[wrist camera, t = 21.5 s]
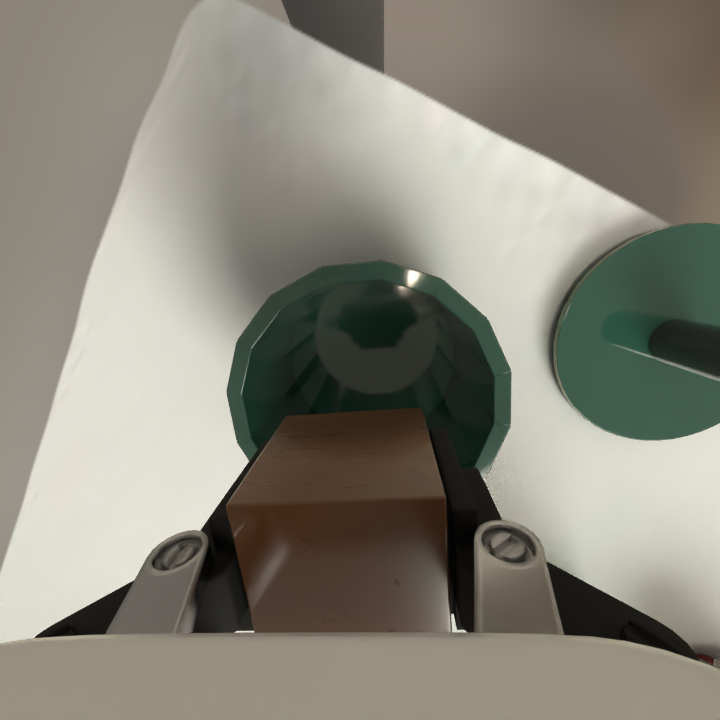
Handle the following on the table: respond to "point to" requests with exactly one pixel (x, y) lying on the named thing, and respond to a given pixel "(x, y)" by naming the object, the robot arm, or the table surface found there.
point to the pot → (372, 358)
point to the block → (345, 526)
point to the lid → (646, 336)
